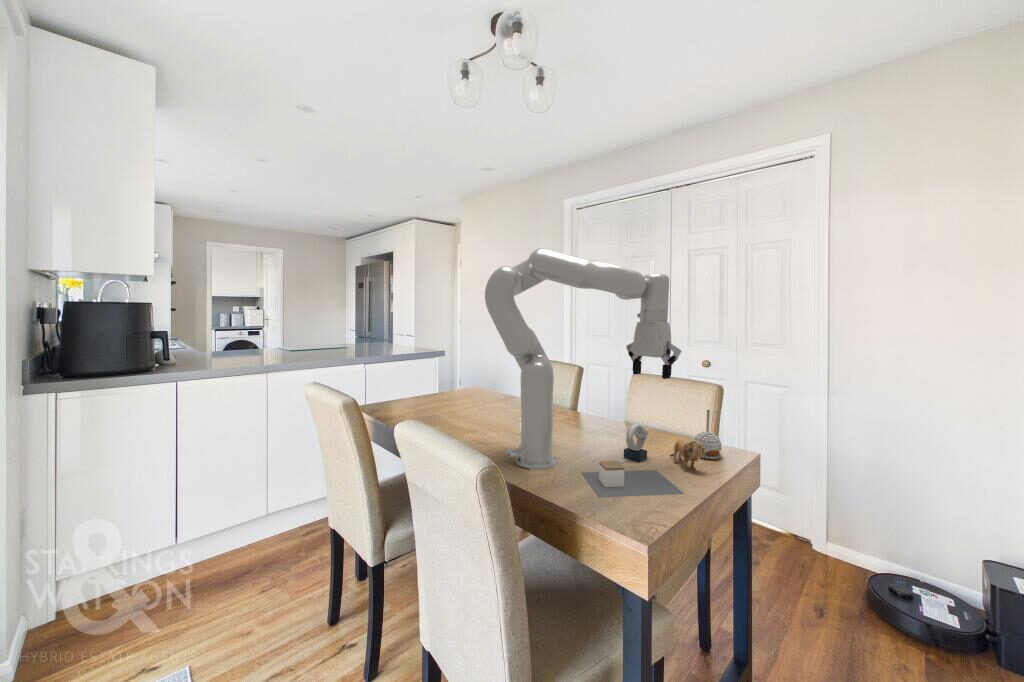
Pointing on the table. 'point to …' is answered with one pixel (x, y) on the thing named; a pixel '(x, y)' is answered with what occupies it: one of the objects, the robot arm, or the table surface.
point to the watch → (636, 451)
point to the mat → (633, 484)
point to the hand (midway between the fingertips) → (651, 376)
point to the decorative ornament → (709, 442)
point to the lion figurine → (688, 452)
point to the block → (611, 474)
